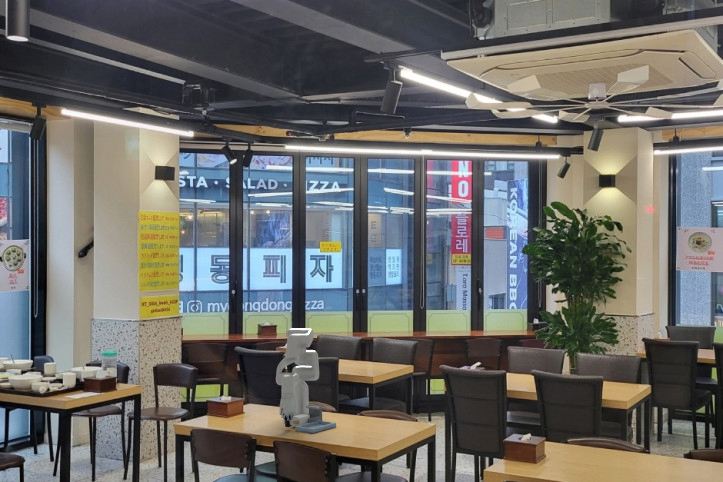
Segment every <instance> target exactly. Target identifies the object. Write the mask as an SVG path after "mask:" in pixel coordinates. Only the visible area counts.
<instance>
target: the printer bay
mask: <svg viewBox="0 0 723 482" xmlns="http://www.w3.org/2000/svg"><path fill="white" fill-rule="evenodd" d="M306 408H309V414H308V415H310V418H308V423H311V422H315V421H319V420H320V421H323V406H321V405H312V404H310V405H308V406H306Z"/></svg>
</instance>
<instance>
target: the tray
mask: <svg viewBox="0 0 723 482" xmlns="http://www.w3.org/2000/svg"><path fill="white" fill-rule="evenodd" d="M334 428H337V423H336V422H334V421H333V422H332V421H326V420H322V421H320V420H319V421H315V422H311V423H307V424H303V425H300V426H296V427H295V432H299V433H300V432H301V433H306V434H315V433H320V432H324V431H327V430H331V429H334Z"/></svg>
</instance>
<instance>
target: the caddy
mask: <svg viewBox="0 0 723 482" xmlns="http://www.w3.org/2000/svg"><path fill="white" fill-rule="evenodd" d="M308 418H310V415H304V414H301V415H297V416H293V418H292V420H289V421H290V425H292V427H293V428H296V426H300V425H303V424H307V423H308ZM283 425H285V420H284V419H283Z"/></svg>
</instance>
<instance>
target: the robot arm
mask: <svg viewBox="0 0 723 482" xmlns="http://www.w3.org/2000/svg"><path fill="white" fill-rule="evenodd" d="M286 337H287V339H286V347H285V349H286V350H285V357H283V359H282V360H280V362H279V363H278V364H277V367H276V372H275V373H276V375H275V382H276V384H277V385H278V386H281V398H280V402H279V415H280V418H281V419H283V421H284V420H285V424H284V427H285V428H291V427H292V425H290V421H289V420H292V418H293V416H297V415H301V414H304V415H308V414H309V408H306V406H308V405H309V404H310V403H309V399H310V398H309V392H310V391H309V385H308V384H307V383H306V381H318V380H319V378H320V366H319V363H320V362H319V354H318V352H317V351H316V350H313V349H307V348H309V347H310V346H311V345H312V342H314V337H315V332H314V330H313V329H312V328H308V327H307V328H287V330H286ZM293 363H294V364H295V365H296V366H294V367H293V368H292V370H291V372H283V371H284V369H285V368H286V367H287V366H289V365H291V364H293Z"/></svg>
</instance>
